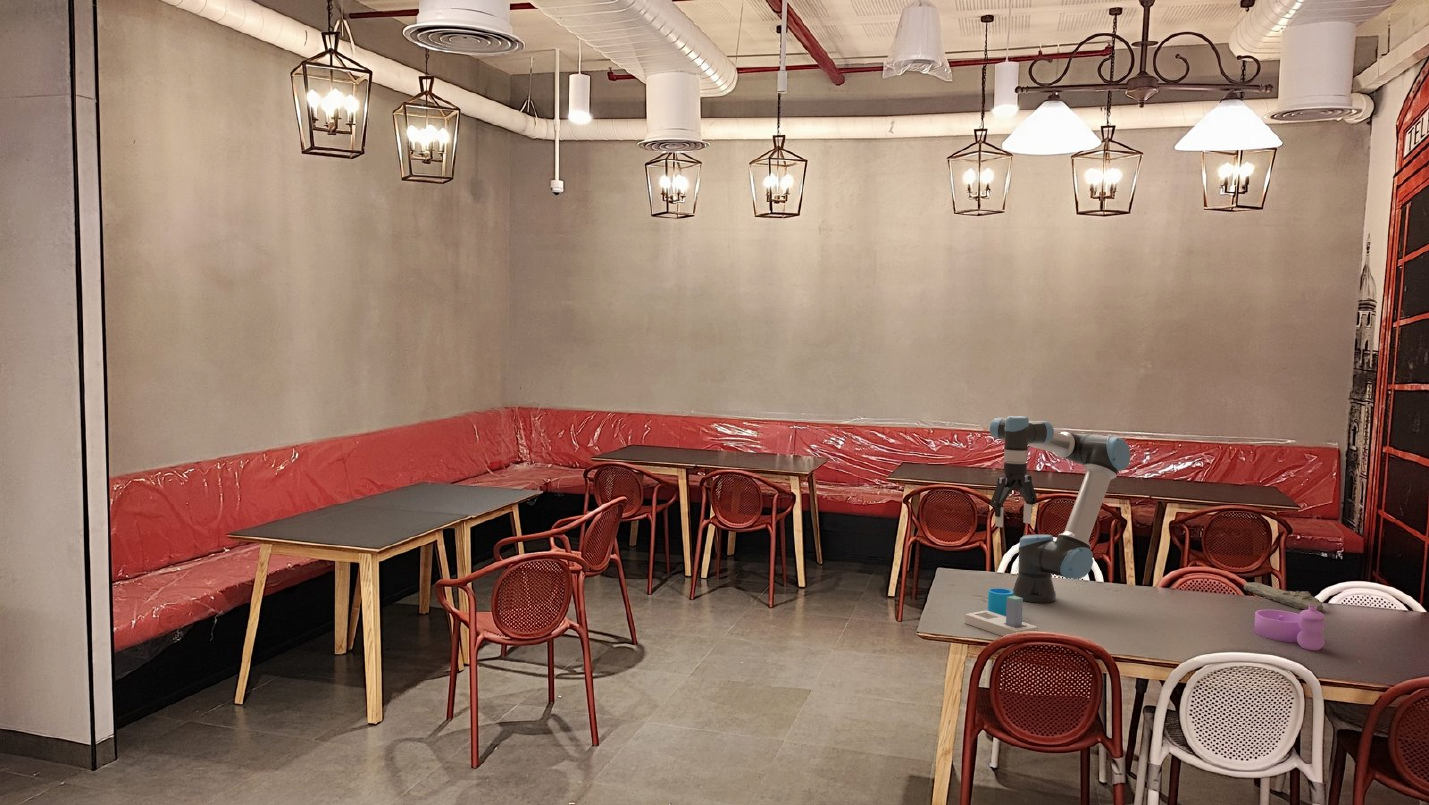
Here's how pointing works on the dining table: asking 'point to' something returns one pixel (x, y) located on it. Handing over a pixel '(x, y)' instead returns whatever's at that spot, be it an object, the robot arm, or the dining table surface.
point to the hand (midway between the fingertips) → (1013, 524)
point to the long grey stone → (1285, 596)
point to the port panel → (995, 623)
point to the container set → (1292, 627)
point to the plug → (1014, 611)
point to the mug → (998, 600)
